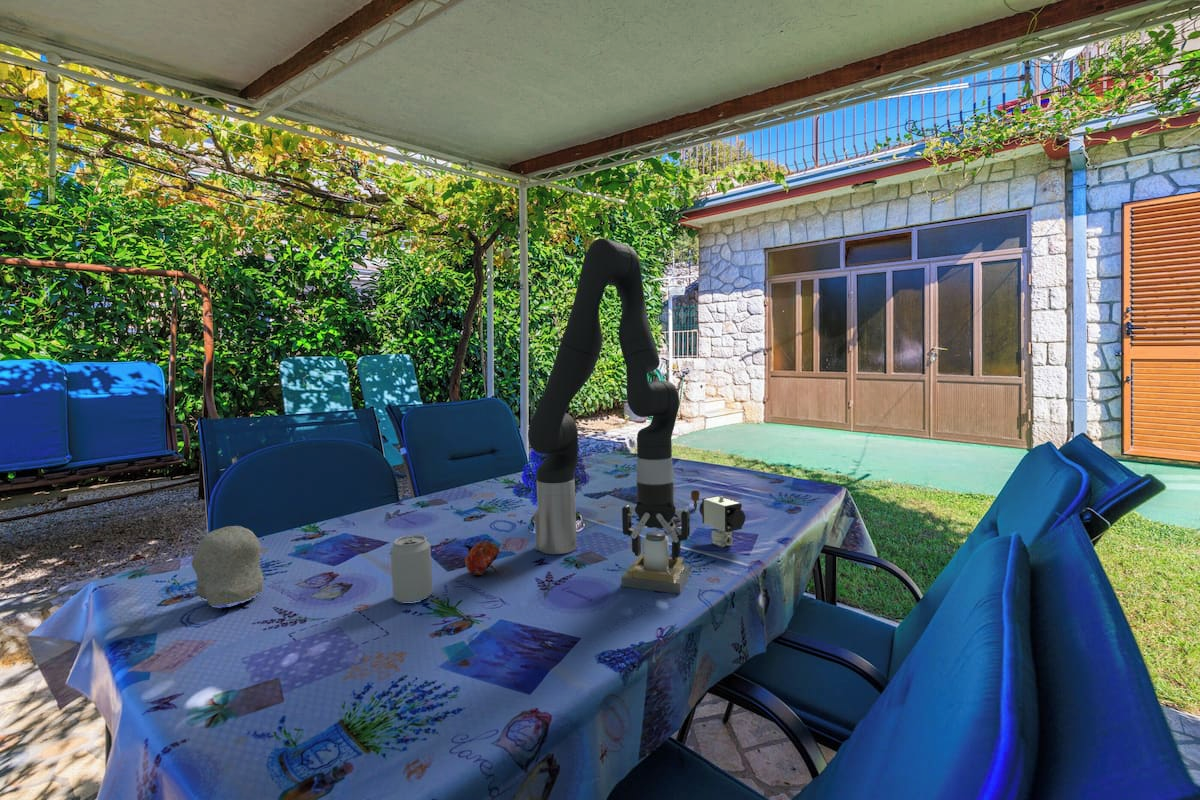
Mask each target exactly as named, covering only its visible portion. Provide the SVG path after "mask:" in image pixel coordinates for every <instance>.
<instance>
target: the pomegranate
mask: <svg viewBox="0 0 1200 800" xmlns="http://www.w3.org/2000/svg"><path fill="white" fill-rule="evenodd" d="M463 548H467V549H468V551H467V556H465V560H464V561H465V567H466V569H467V570H468V571H469V572H470V573H469V574H472V575H473V576H475V575H481V576H483V575H484V573H485V572H486V571H487V570H488V569H489V568H491V569H492V570H493V571H495V572H497V573H498V574H499V573H500V572H499V571H498V570H497V568H495V567H494V566H493V565H492V564H493V562H494V561H495V560H496V559H497V557H498V555H499V554H500V553H501V551H500V550H499V548H498V546H497V545H496V544H495V543H493V542H491V541H482V540H481V541H480V542H477V543H476V544H475V545H472V546H471V545H468V544H465V546H463ZM486 569H487V570H486ZM485 570H486V571H485Z"/></svg>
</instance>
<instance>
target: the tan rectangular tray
mask: <svg viewBox="0 0 1200 800" xmlns="http://www.w3.org/2000/svg"><path fill="white" fill-rule="evenodd" d="M690 575H691V565H689V564H688V565H687V564H685V558H684V557H677V559H676V560H672V556H669V573H667V572H658V571H649V570H644V553H641V554H640V555H639V556H637V558H636V559H635V560H634V561H633V563H632V564H631V565H630V566H629V567H628V569H627V570H626V571H625V572H624V573H623V575H622V576H621V587H623V588H629V589H630V588H631V589H639V590H646V591H655V592H662V593H671V594H678V595H680V594H681V592H682V591H683V589H684V587H685V585H686V584H685V583H687V582H688V580H689V578H690ZM686 581H687V582H686Z"/></svg>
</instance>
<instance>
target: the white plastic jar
mask: <svg viewBox="0 0 1200 800" xmlns="http://www.w3.org/2000/svg"><path fill="white" fill-rule="evenodd" d="M669 541H670V540H669V536H667V535H666V532H664V531H663V532H662V531H658V530H657V531H656V530H655V531H648V532H646V534H645V535H644V536H643V540H642V542H643V543H642V546H643V547H642V548H643V549H642V551H643V553H642V554H644V570H649V571H658V572H667V573H669V557H670V554H669V552H670V549H669V547H670V545H669V543H670V542H669Z"/></svg>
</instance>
